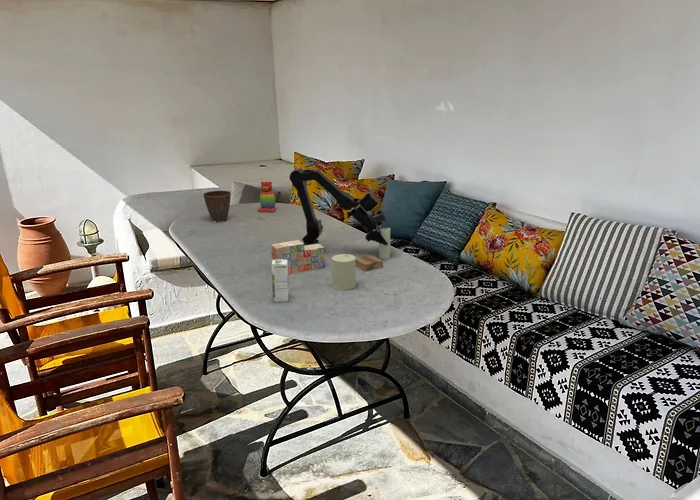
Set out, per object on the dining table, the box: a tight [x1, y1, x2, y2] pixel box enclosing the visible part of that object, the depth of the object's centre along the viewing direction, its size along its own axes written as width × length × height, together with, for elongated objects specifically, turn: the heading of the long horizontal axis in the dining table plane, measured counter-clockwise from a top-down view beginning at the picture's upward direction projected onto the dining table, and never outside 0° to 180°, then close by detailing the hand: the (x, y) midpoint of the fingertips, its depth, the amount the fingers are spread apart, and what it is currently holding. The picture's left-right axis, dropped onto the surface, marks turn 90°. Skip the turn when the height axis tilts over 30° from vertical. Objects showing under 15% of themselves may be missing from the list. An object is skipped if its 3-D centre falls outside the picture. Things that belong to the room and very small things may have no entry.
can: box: [331, 253, 357, 291], centre depth 204 cm, size 9×9×12 cm
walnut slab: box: [355, 254, 384, 272], centre depth 226 cm, size 9×9×3 cm
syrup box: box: [271, 259, 290, 303], centre depth 192 cm, size 6×6×14 cm
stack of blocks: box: [271, 239, 326, 275], centre depth 222 cm, size 21×6×12 cm, turn 116°
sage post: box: [378, 227, 391, 259], centre depth 236 cm, size 4×4×13 cm
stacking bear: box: [257, 181, 277, 213], centre depth 321 cm, size 11×10×18 cm
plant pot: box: [203, 190, 232, 223], centre depth 299 cm, size 15×15×16 cm
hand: (387, 243), depth 236 cm, fingers closed on sage post, 4 cm apart
